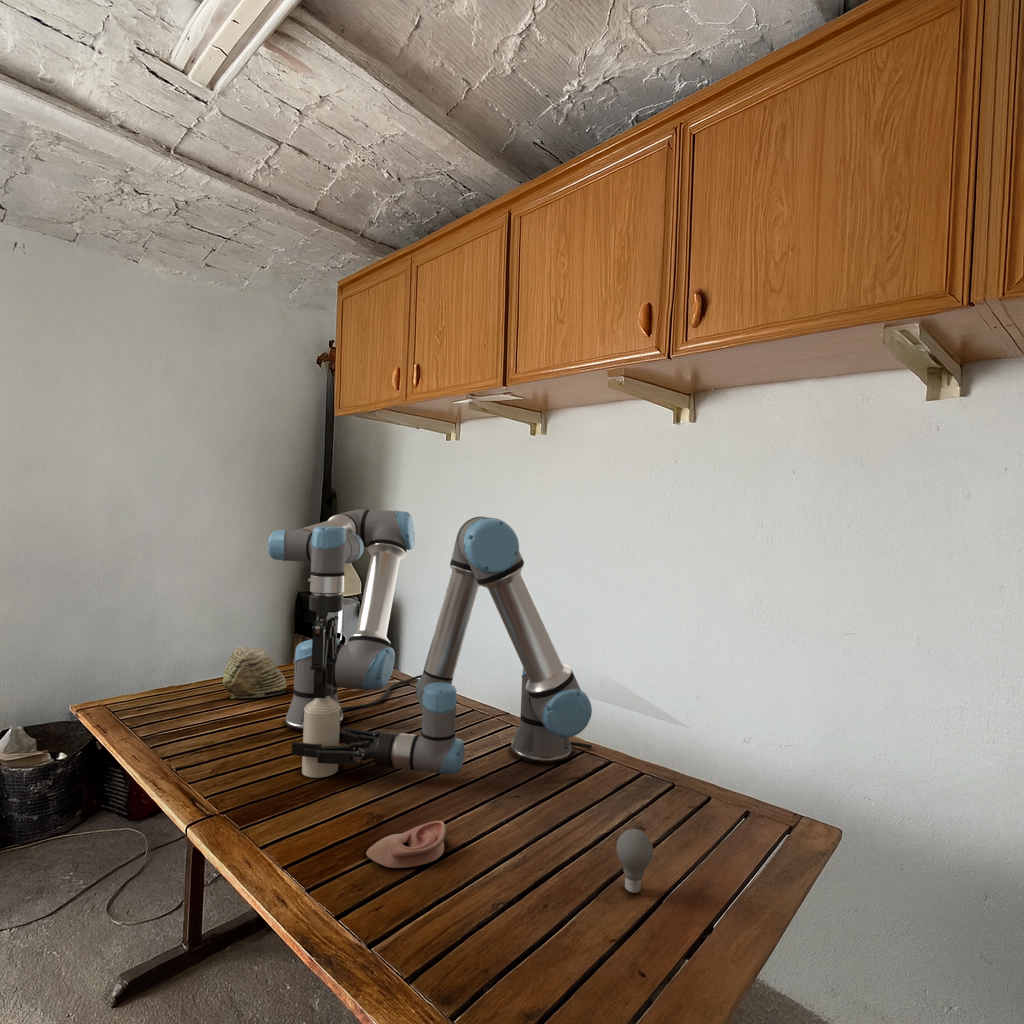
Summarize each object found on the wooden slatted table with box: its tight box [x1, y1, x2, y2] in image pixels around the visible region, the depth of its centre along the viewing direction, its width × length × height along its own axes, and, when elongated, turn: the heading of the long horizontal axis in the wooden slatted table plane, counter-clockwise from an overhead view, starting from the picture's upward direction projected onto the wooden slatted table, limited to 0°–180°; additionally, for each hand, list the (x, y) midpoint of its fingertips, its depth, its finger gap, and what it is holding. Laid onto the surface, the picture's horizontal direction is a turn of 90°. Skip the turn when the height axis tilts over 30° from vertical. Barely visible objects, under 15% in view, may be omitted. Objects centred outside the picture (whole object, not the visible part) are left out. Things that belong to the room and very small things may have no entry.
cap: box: [313, 684, 333, 696], centre depth 146 cm, size 4×4×2 cm
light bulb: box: [615, 828, 654, 894], centre depth 106 cm, size 6×6×10 cm
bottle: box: [301, 696, 342, 779], centre depth 146 cm, size 8×8×19 cm
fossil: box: [222, 646, 288, 699], centre depth 198 cm, size 9×18×15 cm, turn 132°
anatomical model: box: [365, 820, 447, 869], centre depth 114 cm, size 13×4×12 cm
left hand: (323, 693), depth 146 cm, fingers open, 5 cm apart
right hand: (301, 741), depth 147 cm, fingers closed on bottle, 8 cm apart
